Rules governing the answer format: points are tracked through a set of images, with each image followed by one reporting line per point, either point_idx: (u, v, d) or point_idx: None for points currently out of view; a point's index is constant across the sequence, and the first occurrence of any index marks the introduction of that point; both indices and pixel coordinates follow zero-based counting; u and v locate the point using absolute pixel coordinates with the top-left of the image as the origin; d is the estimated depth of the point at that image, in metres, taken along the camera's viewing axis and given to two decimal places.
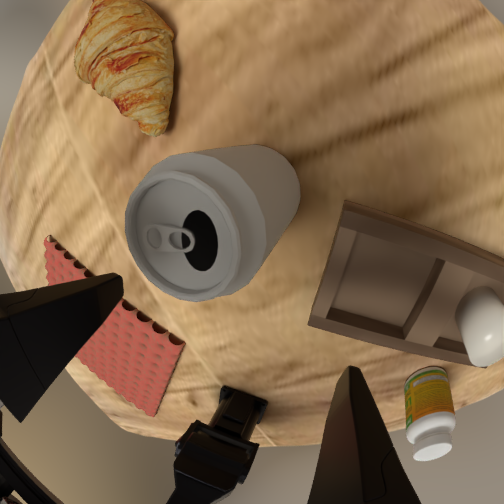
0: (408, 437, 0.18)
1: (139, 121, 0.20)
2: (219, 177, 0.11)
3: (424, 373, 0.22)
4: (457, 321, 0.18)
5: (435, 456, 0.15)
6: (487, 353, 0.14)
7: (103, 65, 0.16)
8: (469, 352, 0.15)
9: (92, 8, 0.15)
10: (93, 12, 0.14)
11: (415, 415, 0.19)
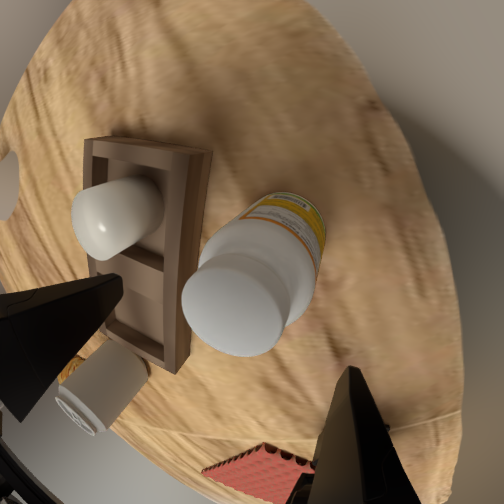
0: None
1: None
2: None
3: None
4: None
5: (250, 306, 0.09)
6: (101, 231, 0.15)
7: None
8: (107, 258, 0.16)
9: None
10: None
11: None
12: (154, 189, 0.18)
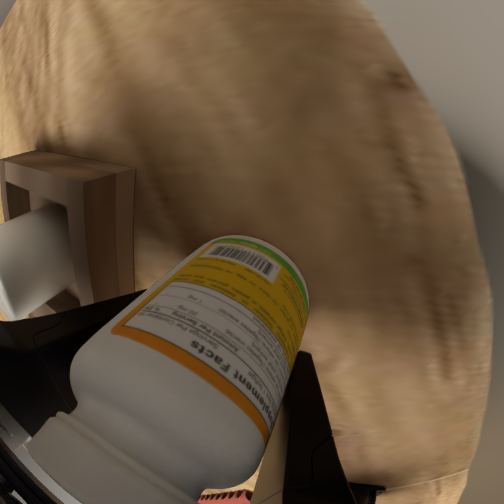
0: None
1: None
2: None
3: None
4: None
5: None
6: (0, 290, 0.09)
7: None
8: None
9: None
10: None
11: None
12: (67, 226, 0.11)
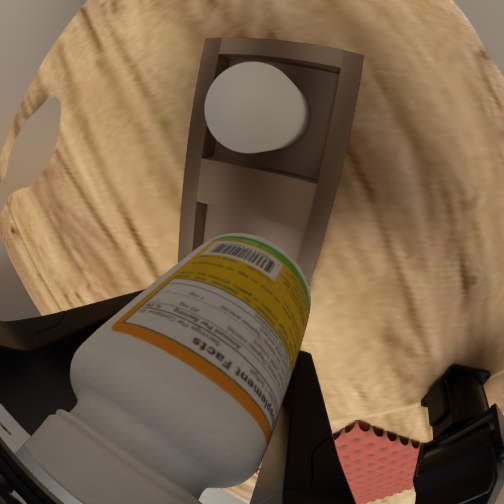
0: None
1: None
2: None
3: None
4: (283, 147, 0.16)
5: None
6: (266, 110, 0.12)
7: None
8: (267, 149, 0.13)
9: None
10: None
11: None
12: (302, 93, 0.15)
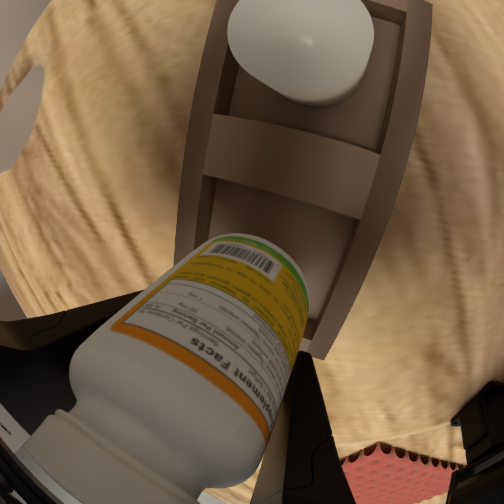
0: None
1: None
2: None
3: None
4: (331, 103, 0.11)
5: None
6: (326, 31, 0.06)
7: None
8: (327, 86, 0.07)
9: None
10: None
11: None
12: None
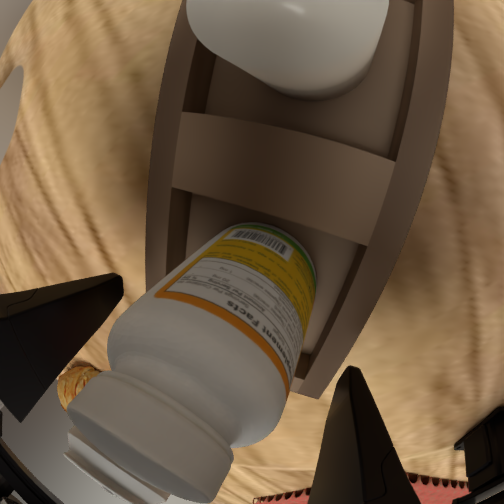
0: None
1: None
2: (69, 443, 0.11)
3: None
4: (330, 95, 0.08)
5: (153, 471, 0.04)
6: None
7: None
8: (324, 64, 0.05)
9: None
10: None
11: None
12: None
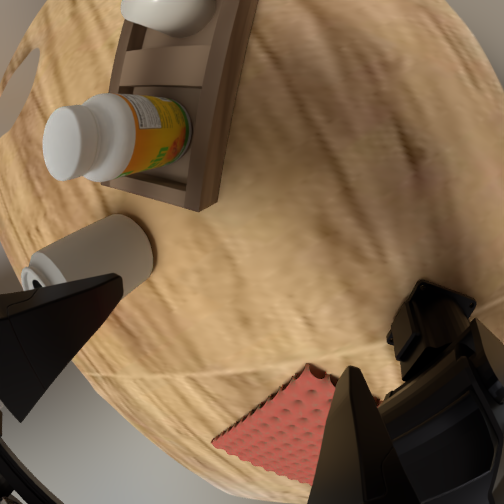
0: (103, 177, 0.13)
1: None
2: None
3: None
4: (189, 30, 0.14)
5: (66, 128, 0.10)
6: None
7: None
8: (157, 13, 0.11)
9: None
10: None
11: None
12: None
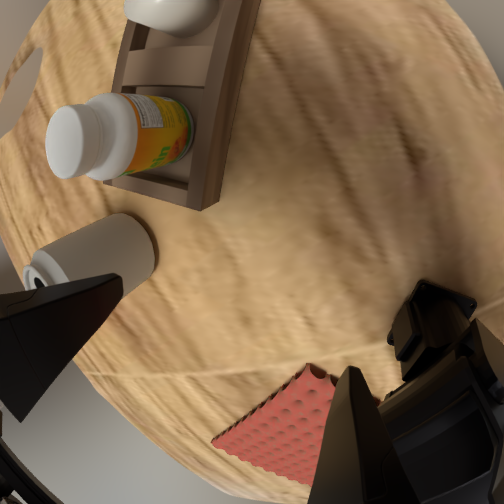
0: (105, 176, 0.13)
1: None
2: None
3: None
4: (192, 30, 0.14)
5: (69, 126, 0.10)
6: None
7: None
8: (160, 13, 0.11)
9: None
10: None
11: None
12: None
